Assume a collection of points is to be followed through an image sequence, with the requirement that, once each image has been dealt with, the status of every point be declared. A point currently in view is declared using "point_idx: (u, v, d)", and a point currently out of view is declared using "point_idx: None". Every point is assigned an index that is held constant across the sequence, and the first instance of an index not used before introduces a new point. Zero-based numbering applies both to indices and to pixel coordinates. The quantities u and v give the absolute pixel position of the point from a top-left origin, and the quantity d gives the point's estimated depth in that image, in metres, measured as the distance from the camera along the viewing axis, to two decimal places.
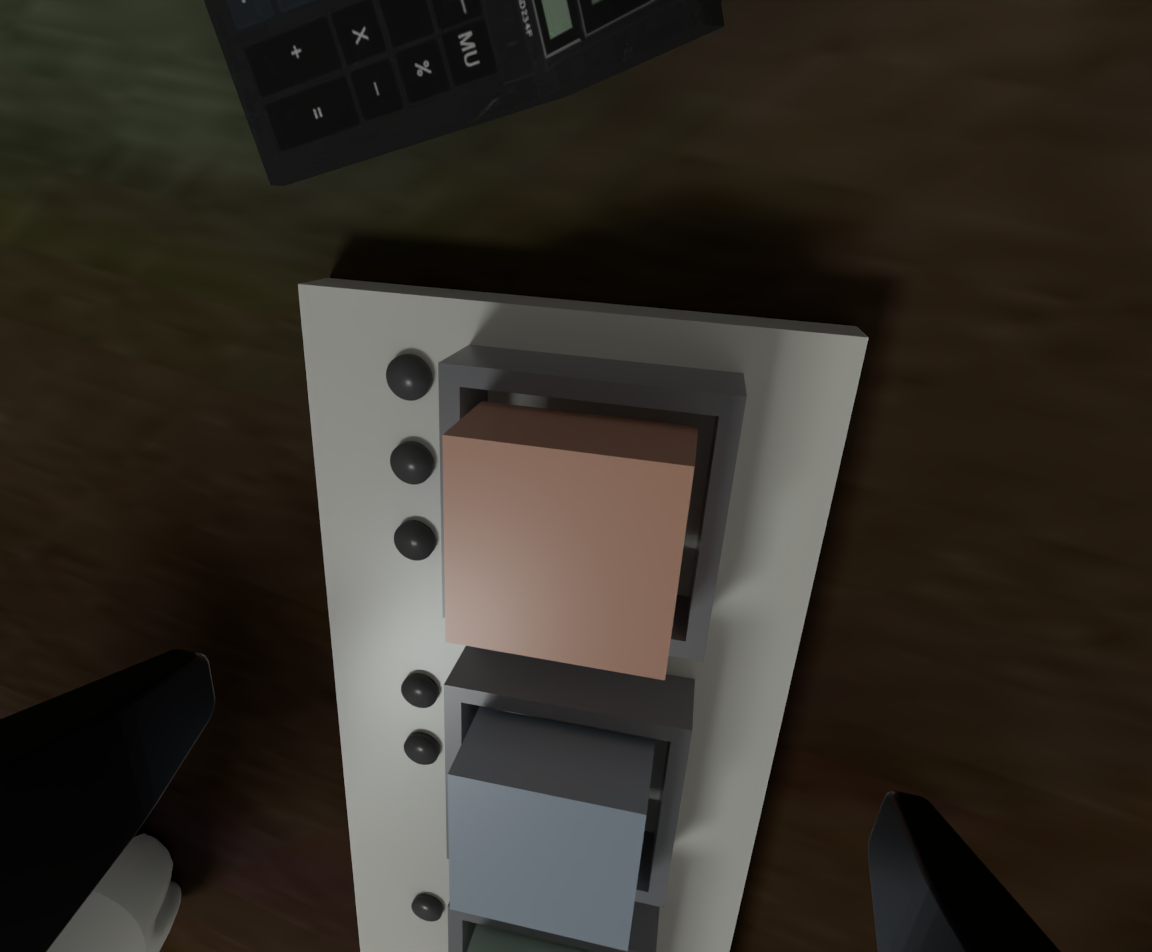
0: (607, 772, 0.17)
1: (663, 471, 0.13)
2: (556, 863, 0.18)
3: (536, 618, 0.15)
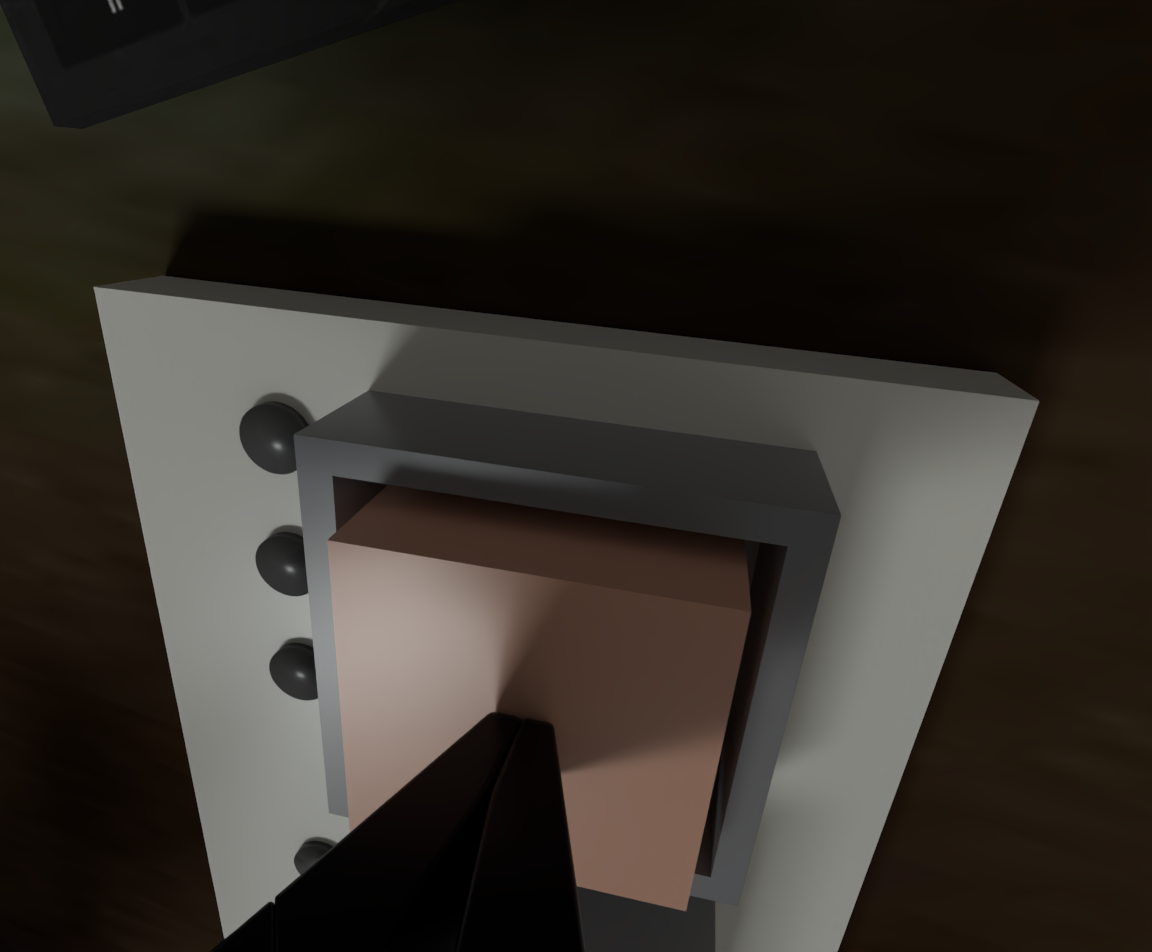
0: None
1: (696, 616, 0.08)
2: None
3: None
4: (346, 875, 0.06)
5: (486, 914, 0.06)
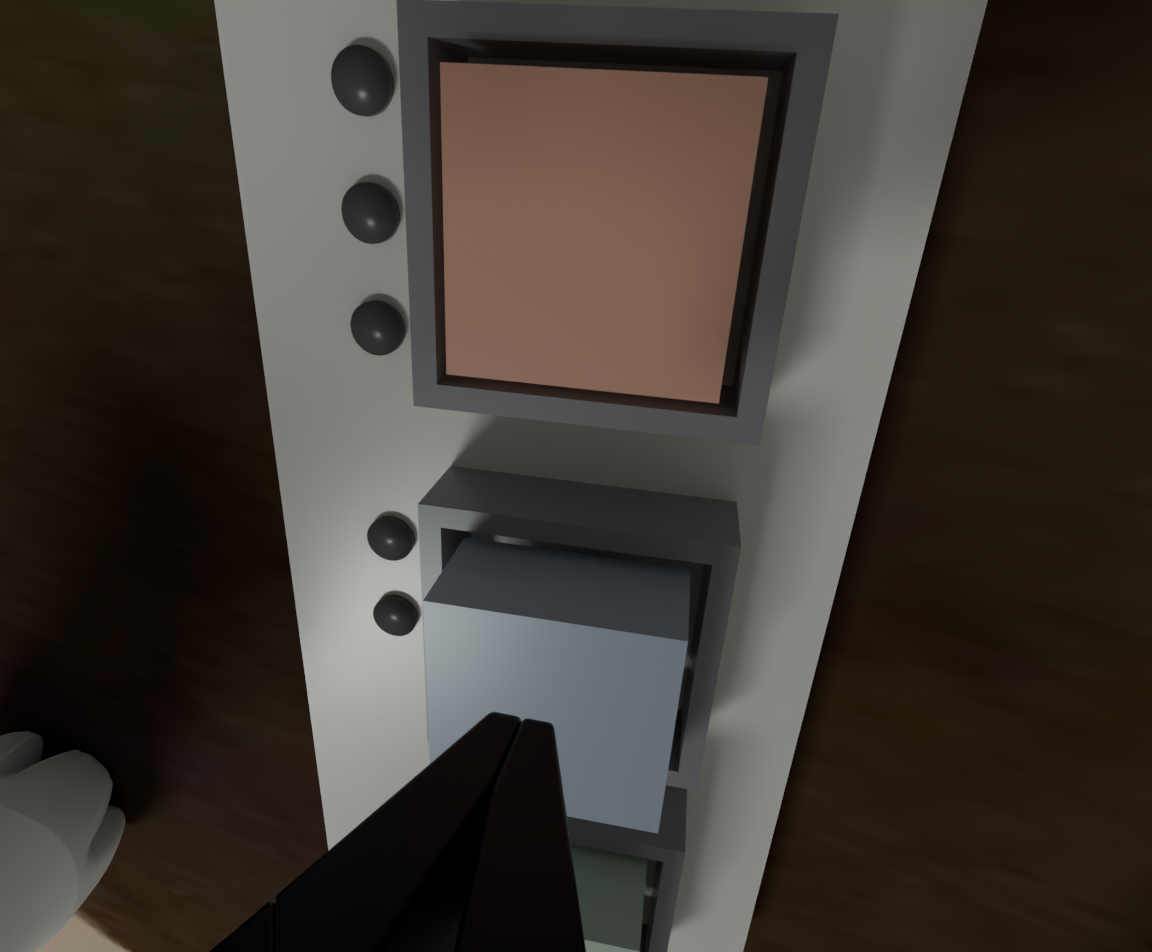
0: (632, 599, 0.13)
1: (726, 87, 0.10)
2: (567, 718, 0.14)
3: (559, 329, 0.12)
4: (346, 875, 0.06)
5: (486, 914, 0.06)
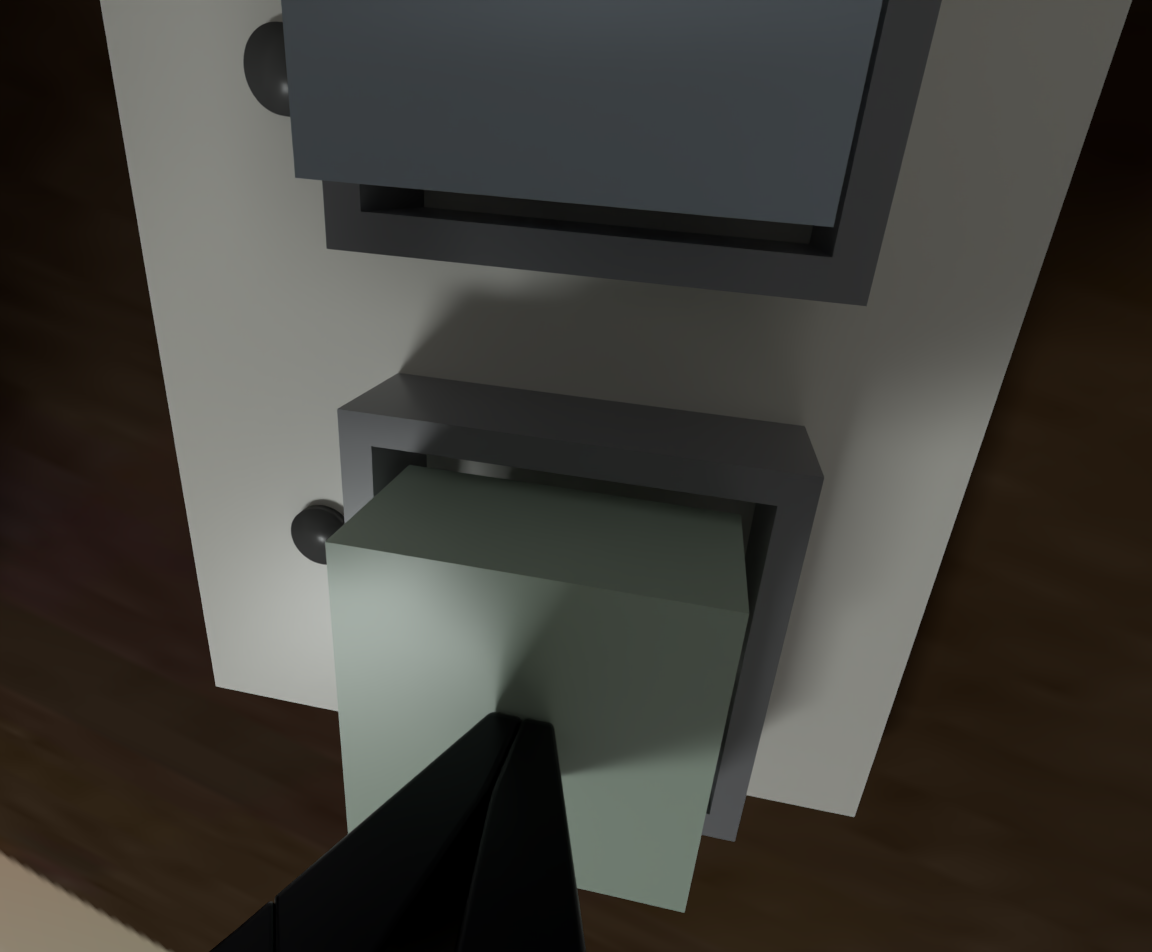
0: None
1: None
2: None
3: None
4: (346, 875, 0.06)
5: (486, 914, 0.06)
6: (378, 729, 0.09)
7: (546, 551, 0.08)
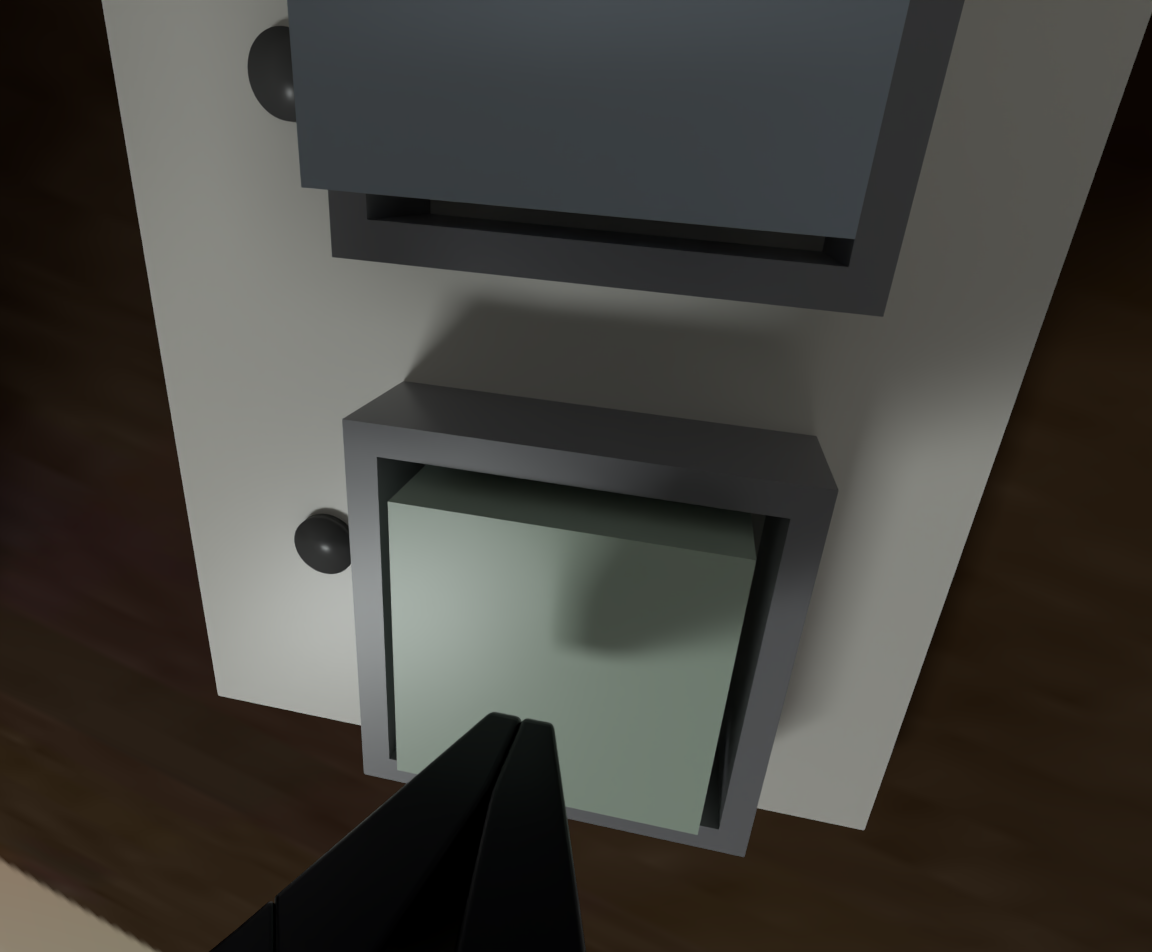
0: None
1: None
2: None
3: None
4: (346, 875, 0.06)
5: (486, 914, 0.06)
6: (428, 670, 0.10)
7: (579, 510, 0.10)
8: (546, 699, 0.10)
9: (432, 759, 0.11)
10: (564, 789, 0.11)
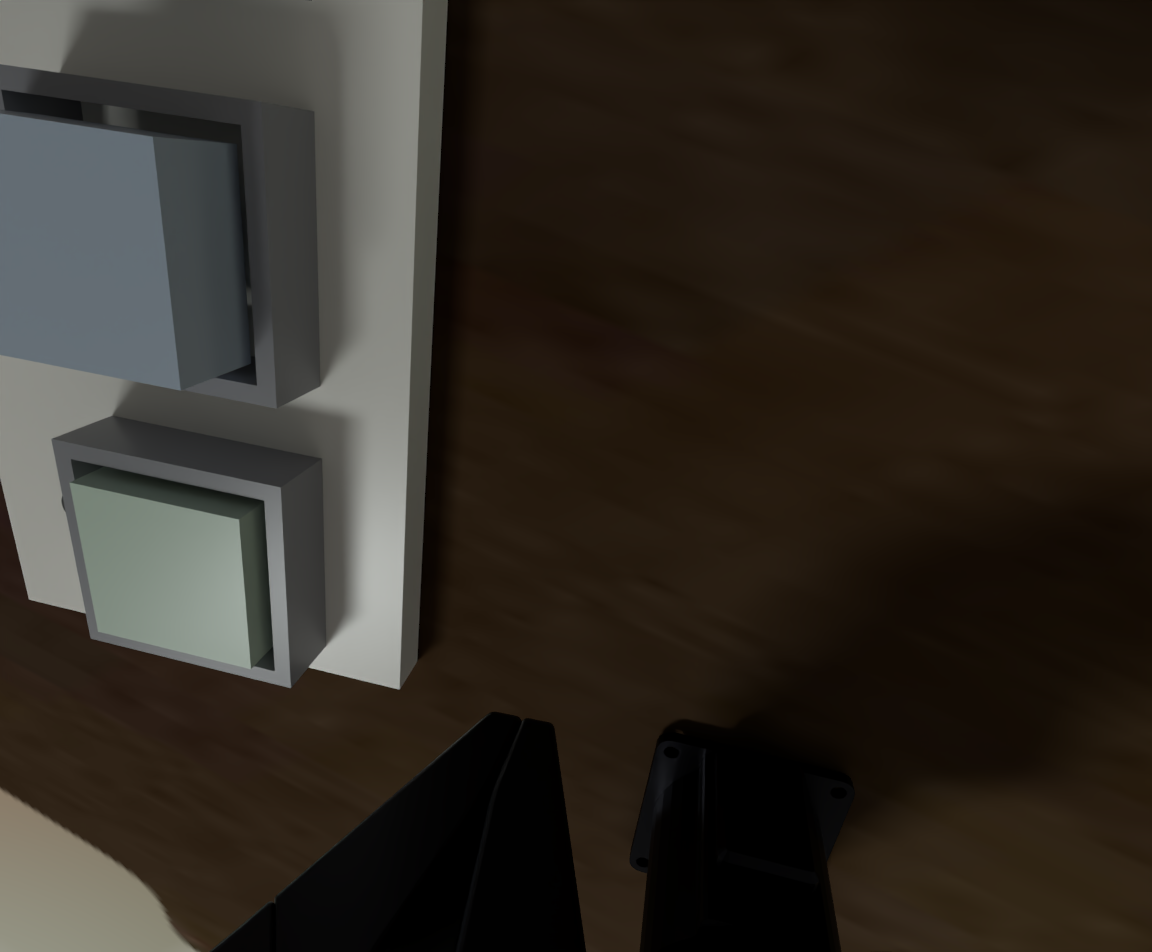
0: (142, 132, 0.14)
1: None
2: (75, 245, 0.14)
3: None
4: (346, 875, 0.06)
5: (486, 914, 0.06)
6: (104, 573, 0.20)
7: (171, 492, 0.19)
8: (163, 591, 0.19)
9: (115, 625, 0.20)
10: (182, 642, 0.20)
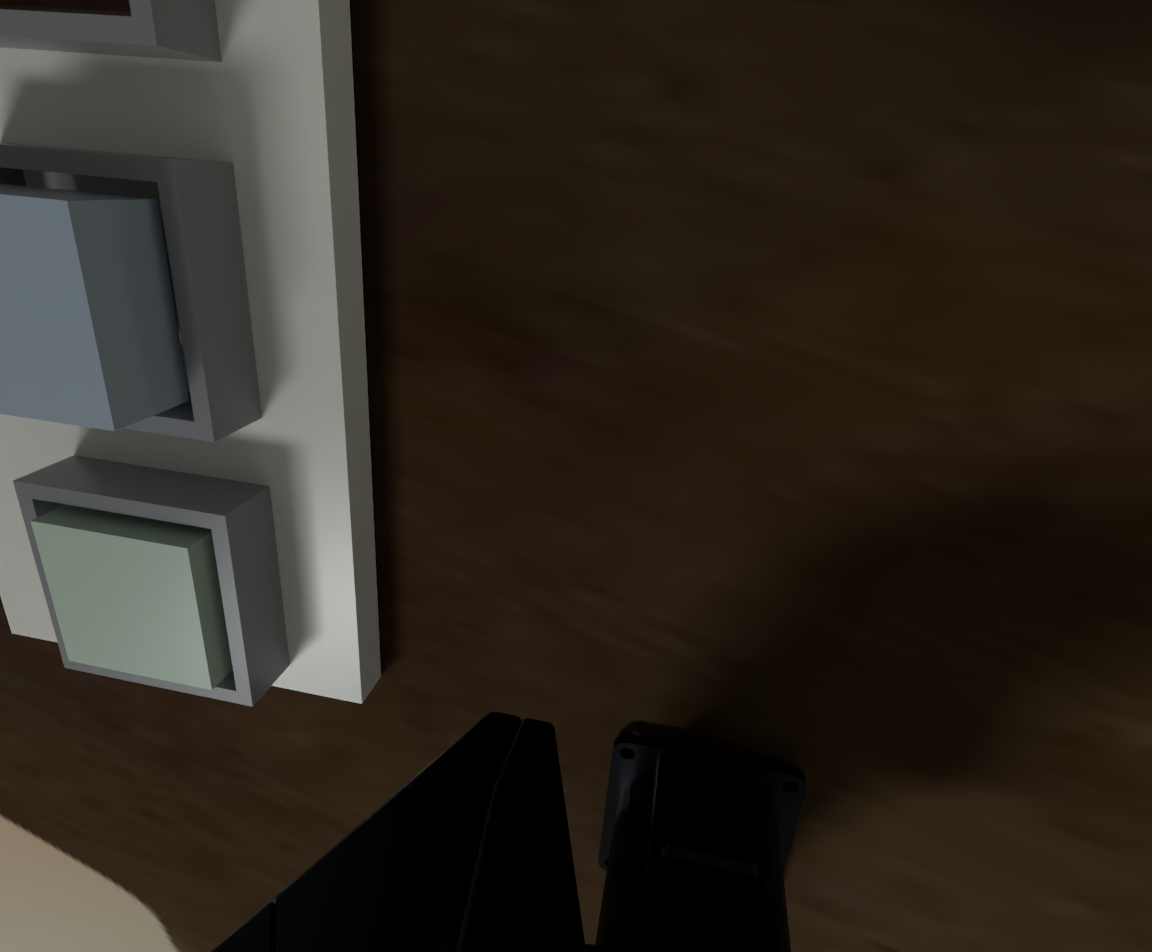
0: (64, 195, 0.15)
1: None
2: (7, 303, 0.15)
3: None
4: (346, 875, 0.06)
5: (486, 914, 0.06)
6: (69, 605, 0.21)
7: (127, 525, 0.20)
8: (124, 619, 0.20)
9: (83, 654, 0.21)
10: (147, 667, 0.21)
